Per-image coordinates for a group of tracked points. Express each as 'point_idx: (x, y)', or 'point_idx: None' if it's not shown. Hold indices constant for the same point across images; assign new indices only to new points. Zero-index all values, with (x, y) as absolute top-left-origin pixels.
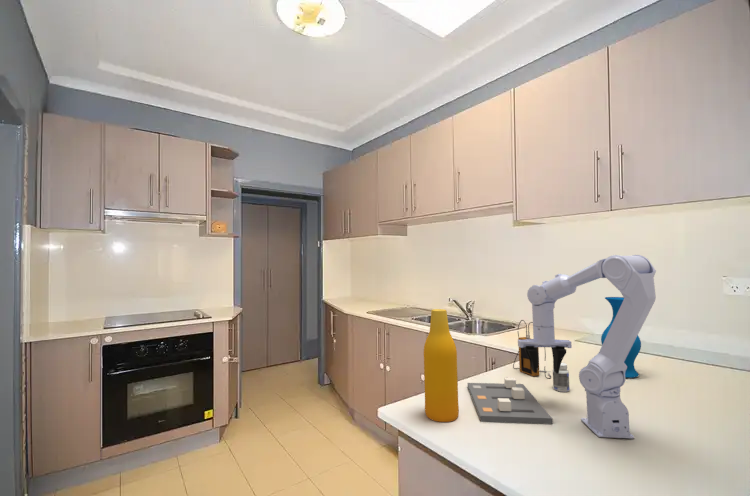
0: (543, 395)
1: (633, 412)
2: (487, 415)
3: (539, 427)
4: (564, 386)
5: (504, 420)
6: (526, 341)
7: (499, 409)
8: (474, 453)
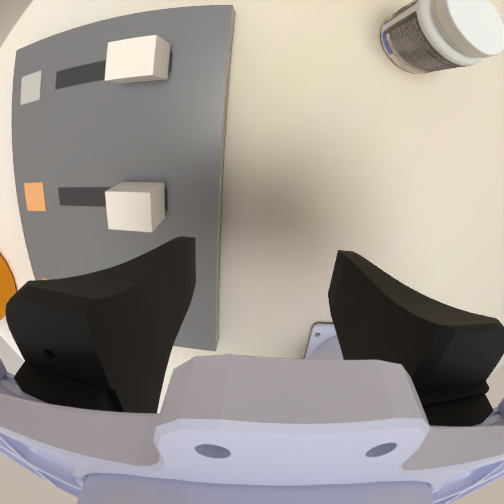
0: (299, 93)
1: (484, 268)
2: None
3: (178, 349)
4: (421, 70)
5: None
6: (29, 470)
7: None
8: None
